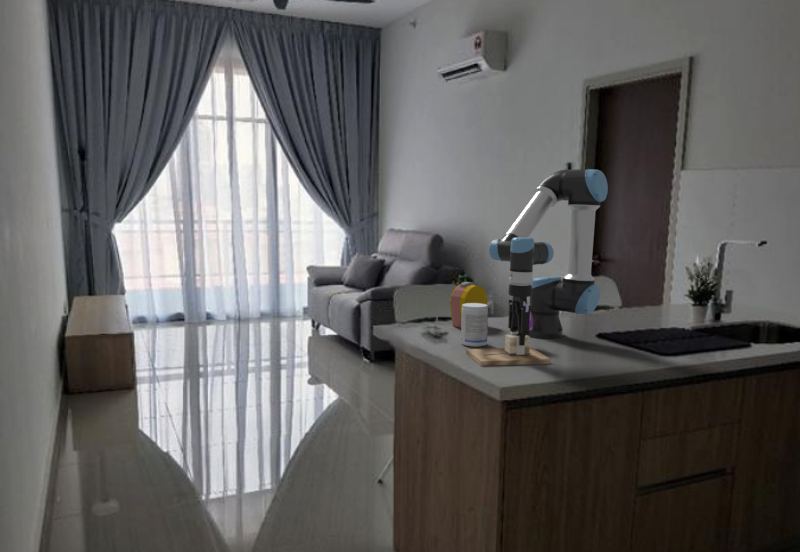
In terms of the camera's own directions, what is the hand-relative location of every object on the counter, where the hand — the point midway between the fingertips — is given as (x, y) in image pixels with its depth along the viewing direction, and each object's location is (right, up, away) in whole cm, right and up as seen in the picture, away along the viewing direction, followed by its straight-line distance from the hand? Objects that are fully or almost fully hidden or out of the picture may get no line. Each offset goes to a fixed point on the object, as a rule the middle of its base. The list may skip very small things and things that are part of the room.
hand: (517, 352), depth 213 cm
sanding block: (0, 0, 0) cm, 0 cm away
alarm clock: (-11, +5, +53) cm, 54 cm away
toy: (+5, 0, +18) cm, 18 cm away
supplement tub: (-12, 0, +19) cm, 23 cm away
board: (-3, -2, 0) cm, 4 cm away
